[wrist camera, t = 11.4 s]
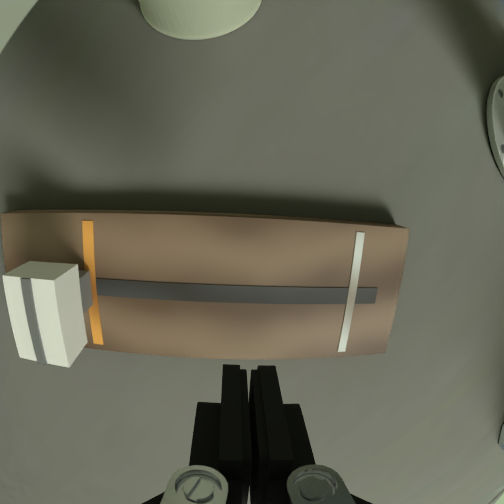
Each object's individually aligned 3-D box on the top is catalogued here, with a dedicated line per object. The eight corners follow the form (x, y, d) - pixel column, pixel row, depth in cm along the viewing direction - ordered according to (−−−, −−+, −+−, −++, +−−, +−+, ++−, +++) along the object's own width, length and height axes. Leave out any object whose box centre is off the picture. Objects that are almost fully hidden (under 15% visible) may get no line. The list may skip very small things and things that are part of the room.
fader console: (14, 210, 20) (0, 213, 18) (396, 224, 23) (410, 229, 21) (28, 325, 22) (17, 336, 20) (375, 341, 25) (385, 353, 23)
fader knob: (51, 249, 19) (0, 276, 13) (96, 252, 19) (52, 281, 13) (59, 316, 20) (18, 358, 14) (102, 321, 20) (68, 369, 14)
